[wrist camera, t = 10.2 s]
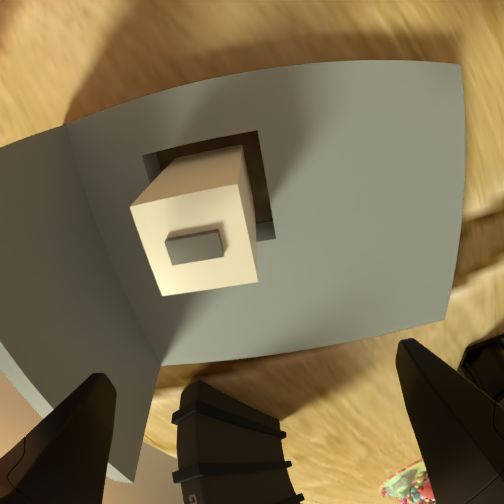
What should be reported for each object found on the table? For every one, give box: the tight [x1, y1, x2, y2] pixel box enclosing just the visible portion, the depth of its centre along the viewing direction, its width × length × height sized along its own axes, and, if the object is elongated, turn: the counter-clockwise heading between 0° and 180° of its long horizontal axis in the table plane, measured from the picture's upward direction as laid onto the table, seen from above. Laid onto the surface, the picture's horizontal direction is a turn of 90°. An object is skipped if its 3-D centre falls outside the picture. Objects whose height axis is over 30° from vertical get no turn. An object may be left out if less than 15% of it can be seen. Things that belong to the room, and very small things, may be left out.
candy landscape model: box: [379, 458, 436, 504], centre depth 42 cm, size 25×24×9 cm
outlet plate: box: [0, 60, 466, 483], centre depth 15 cm, size 24×18×12 cm
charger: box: [130, 144, 258, 296], centre depth 15 cm, size 4×4×8 cm
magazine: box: [171, 381, 305, 504], centre depth 25 cm, size 4×13×15 cm, turn 46°
